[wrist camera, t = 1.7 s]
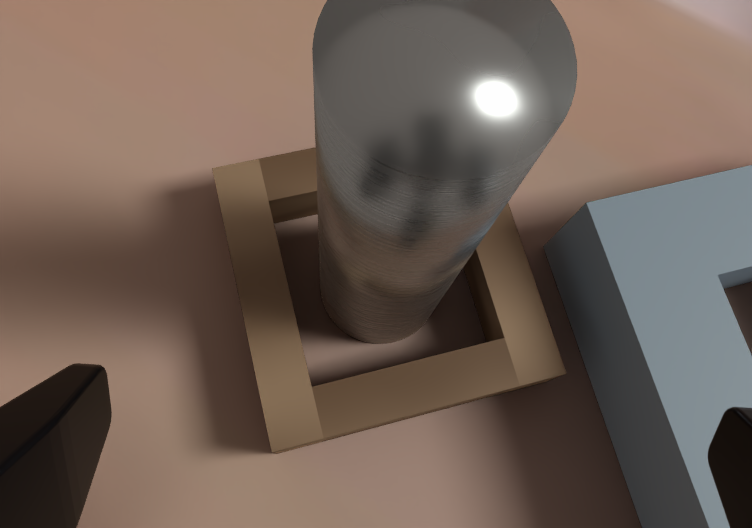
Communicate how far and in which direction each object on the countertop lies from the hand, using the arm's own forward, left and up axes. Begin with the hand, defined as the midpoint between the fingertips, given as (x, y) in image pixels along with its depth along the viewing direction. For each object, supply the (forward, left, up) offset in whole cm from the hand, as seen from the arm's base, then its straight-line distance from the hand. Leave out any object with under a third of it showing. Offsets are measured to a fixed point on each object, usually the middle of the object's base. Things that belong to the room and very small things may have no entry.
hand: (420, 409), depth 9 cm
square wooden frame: (+5, -2, -12) cm, 13 cm away
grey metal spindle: (+5, -2, -12) cm, 13 cm away
